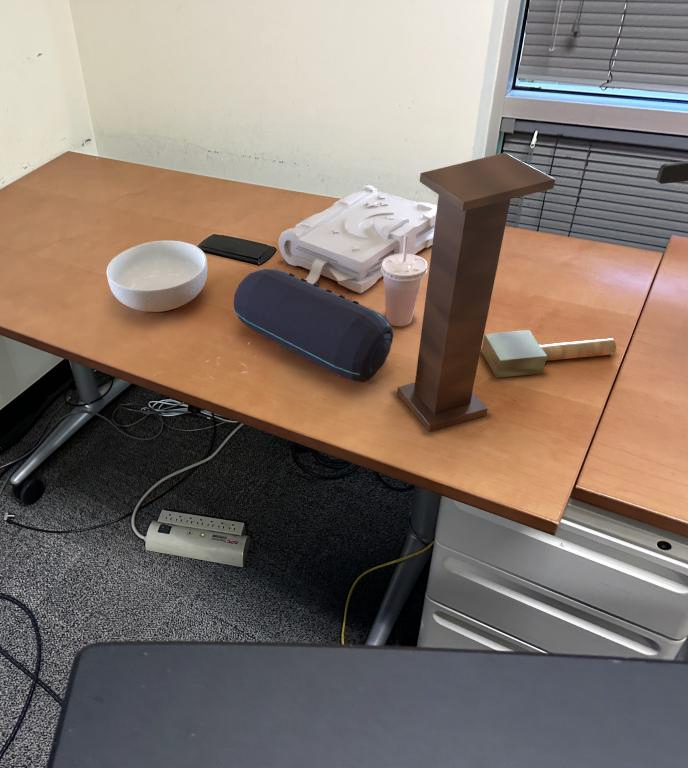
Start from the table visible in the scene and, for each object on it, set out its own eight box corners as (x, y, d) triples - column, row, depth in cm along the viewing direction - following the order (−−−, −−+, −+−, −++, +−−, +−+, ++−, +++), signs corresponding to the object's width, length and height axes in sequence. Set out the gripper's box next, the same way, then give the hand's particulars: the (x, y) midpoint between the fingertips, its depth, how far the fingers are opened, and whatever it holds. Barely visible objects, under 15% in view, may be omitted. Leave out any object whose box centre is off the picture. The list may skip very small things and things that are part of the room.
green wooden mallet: (598, 339, 95) (604, 322, 93) (620, 366, 91) (627, 348, 89) (480, 351, 96) (484, 333, 95) (496, 378, 92) (500, 360, 90)
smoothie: (417, 306, 107) (426, 224, 98) (424, 330, 102) (435, 246, 93) (374, 308, 108) (380, 227, 99) (379, 332, 103) (386, 249, 94)
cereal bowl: (230, 290, 117) (227, 254, 112) (163, 339, 108) (157, 302, 104) (160, 264, 127) (154, 230, 122) (93, 307, 118) (85, 271, 114)
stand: (464, 374, 93) (505, 152, 74) (500, 411, 87) (555, 179, 67) (396, 393, 92) (420, 172, 72) (429, 432, 86) (464, 202, 66)
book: (257, 272, 120) (255, 233, 115) (358, 212, 132) (360, 174, 128) (345, 311, 108) (347, 269, 103) (448, 241, 120) (453, 200, 115)
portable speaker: (404, 368, 96) (410, 308, 89) (358, 403, 91) (362, 343, 85) (272, 305, 112) (270, 251, 105) (228, 333, 107) (223, 278, 101)
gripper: (863, 231, 74) (705, 248, 75) (773, 178, 85) (637, 193, 86) (901, 164, 69) (732, 183, 70) (801, 117, 80) (656, 134, 81)
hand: (680, 189), depth 78 cm, fingers open, 8 cm apart
